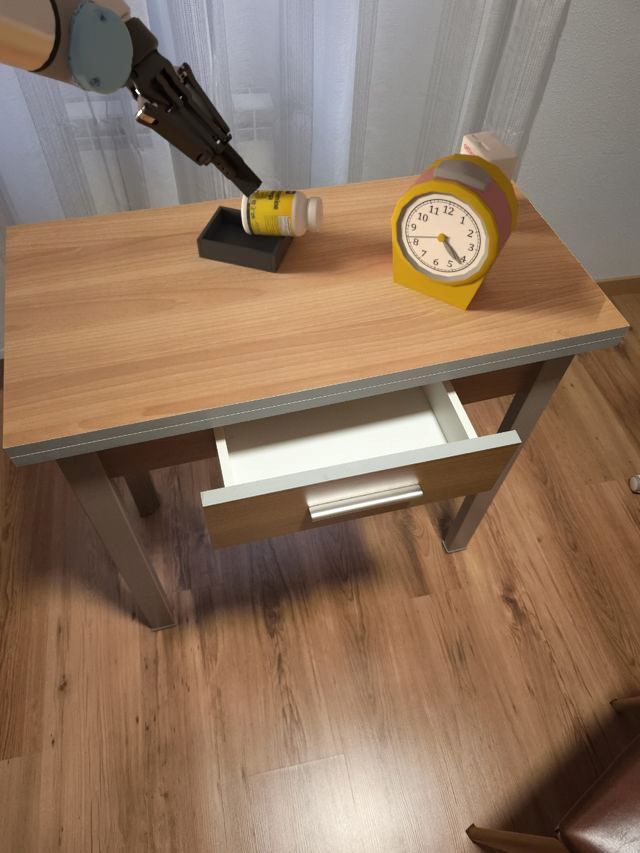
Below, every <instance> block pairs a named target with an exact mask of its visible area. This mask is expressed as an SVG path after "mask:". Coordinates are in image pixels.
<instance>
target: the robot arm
mask: <svg viewBox="0 0 640 853" xmlns="http://www.w3.org/2000/svg"><path fill="white" fill-rule="evenodd" d="M131 9H132V8H131V7H130V5H128V4H127V2H126V1H124V0H0V64H2V65H6V66H9V67H12V68H16V69H19V70H22V71H26V72H28V73H30V74H35V75H37V76H40V77H45V78H48V79H51V80H55V81H58V82H61V83H65V84H67V85H71V86H73V87H76V88H78V89H80V90H82V91H84V92H94V93H98V94H101V95H111V94H113V93H116V92H118V91H119V90H121V89H124V88H126V89H127V90H128V92H129V93H130V95H131V97H132V99H133V100H134V101H135V102H136V103H137V112H136V113H135V114H134V120H135V121H136V123H138V124H140V125H143V126H144V127H146V128H149V129H151V130H153V131H154V132H155V133H156V134H157V135H159V136H160V137H161V138H163V139H164V140H166V142H168V143H169V144H171V145H172V146H173V147H174V148H176V149H177V150H178V151H179V152H181V153H182V154H183V155H185V156H186V157H187V158H188V159H190V160H191V161H192V162H193V163H195V164H196V165H197V166H199V167H202V166H205V167H208V166H209V165H210V164H212V165H213V166H214V167H215V168H216V169H217V170H218V171H219V172H220V173H221V174H222V175H223V176H224V177H225V179H227V180H229V181H230V182H231V183H232V184H233V185H234V186H235V187H236V188H237V189H238V190H239V191H240V192H241V193H242V194H243V196H244V195H245V196H246V197H247V198H248V197H249V196H250V195H251V194H252V193H254V192H255V191H256V190H259V189H260V187H261V186H262V184H263V181H262V180H261V178H260V177H258V175H257V174H256V173H255V172H254V170H253V169H252V168H251V167H249V165H248V164H247V163H246V162H245V160H244V158H243V157H242V156H241V155H240V154H239V153H238V151H236V149H235V148H234V147H233V146H232V145H231V144H230V142H231V140H232V139H233V135H232V133H231V129H230V126H229V125H228V124H227V122H226V121H225V119H224V118H223V117H222V115H221V114H220V112H219V111H218V110H217V108H216V106H215V105H214V104H213V102H212V101H211V99H210V98H209V96H208V95H207V93H206V92H205V90H204V89H203V88H202V86H201V85H200V84H199V82H198V80H197V79H196V76H195V74H194V72H193V69H192V68H191V65H190V64H189V63H188V62H186V61H184V62H183V63H181V65H180V66H177V65H173V63H172V62H171V61H170V60H169V59H168V58H166V57H165V56H164V55H162V54H161V53H160V51H158V48H159V40H158V38H157V36H155V35H154V34H153V33H152V31H151V30H150V29H149V28H148V27H147V26H146V24H145V23H144V22H143V21H142V20H141V18H140V17H136V16H133V17H132V16H131V14H132V10H131Z"/></svg>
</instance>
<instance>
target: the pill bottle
mask: <svg viewBox="0 0 640 853" xmlns="http://www.w3.org/2000/svg"><path fill="white" fill-rule="evenodd" d="M240 206H241V208H240V210H241V215H242V223H243V227H244V229H245V231H246V232H247V233H248V234H251V235H272V236H294V237H301V236H303V235H304V234H305V233H306V232H307V231H309V232H320V231H322V230H321V229H322V226H323V221H324V204H323V200H322V197H320V196H310V197H309V198H308V197H307V195H306V193H305V192H304V191H303V192H302V191H300V190H276V189H275V190H270V189H269V190H268V189H257V190H256V191H255V192H254V193H252V194H251V195H250V196H249V197H248V198H247V197H246V196H245V195H244V194H243V196H242V200H241V205H240Z"/></svg>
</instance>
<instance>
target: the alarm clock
mask: <svg viewBox="0 0 640 853" xmlns="http://www.w3.org/2000/svg"><path fill="white" fill-rule="evenodd" d="M518 213H519V201H518V198H517V196H516V192H515V189H514V186H513V183H512V181H511V182H510V181H509V180H508V178H507V177H506V176H505V175H504V173H503V172H502V171H501V170H500V169H499V167H498V166H496V165H494V164H492V163H490V162H489V161H487V160H485V159H483V158H481V157H479V156H476V155H466V154H460V153H453V154H450V155H448V156H444V157H442V158H438V159H436V160H435V161H434V162H433V163H432V164H430V165H429V166H428V167H427V169H425V170H424V171H423V172H422V173H421V174H420V175H419V177H418V178H416V180H415V181H414V182H413V184H411V185H410V186H409V188H408V189H407V190H406V191H405V192H404V193H403V194H402V196H400V198H399V199H398V200H397V202H396V204H395V207H394V210H393V213H392V215H391V218H390V223H391V224H390V226H391V240H392V241H391V243H392V246H391V247H392V282H393V283H395V284H396V285H397V284H398V285H400V286H403V287H405V288H407V289H411V290H412V291H415V292H418V293H421V294H423V295H425V296H428V297H430V298H433V299H436V300H438V301H441V302H444V303H446V304H449V305H451V306H454V307H456V308H459V309H461V310H464V311H466V309H467V308H468V306H469V305H470V304H471V302H472V300H473V298H475V296H476V294H477V292H478V291H479V289H480V288H481V286H482V285H483V283H484V282H485V280H486V278H487V276H488V274H489V272H490V271H491V269H492V268H493V266H494V264H495V263H496V261H497V259H498V257H499V256H500V254H501V252H502V250H503V249H504V247H505V245H506V244H507V242H508V240H509V238H510V237H511V235H512V233H513V232H514V231H515V229H516V226H517V220H518Z"/></svg>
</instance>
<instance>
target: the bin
mask: <svg viewBox="0 0 640 853" xmlns="http://www.w3.org/2000/svg"><path fill="white" fill-rule="evenodd" d="M294 238H295V236H272V235H251V234H248V233H247V232H246V231H245V229H244V227H243V223H242V215H241V209H238V208H235V207H230V206H229V207H228V206H223V205H219V206H218V207H217V208H216V210H215V212H214V213H213V215H212V216H211V218H210V219H209V221H208V222H207V224H206V225H205V227H204V228H203V229H202V231H201V233H200V234H199V235H198V237H197V239H196V246H197V252H198V257H199V258H200V259H201V258H202V259H206V260H210V261H216V262H219V263H225V264H229V265H234V266H239V267H243V268H244V267H245V268H249V269H253V270H259V271H262V272H268V273H272V274H277V272H278V270H279V268H280V266H281V264H282V262H283V261H284V258H285V256H286V254H287V252H288V250H289V248H290V246H291V244H292V242H293V240H294Z"/></svg>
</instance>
